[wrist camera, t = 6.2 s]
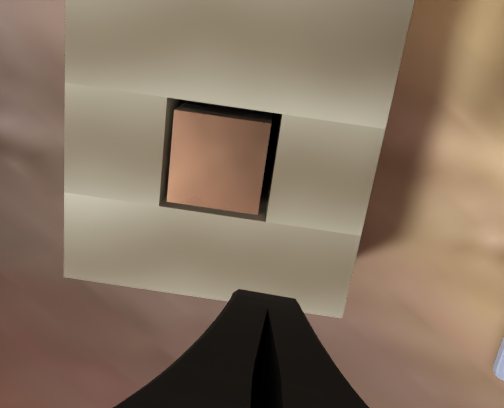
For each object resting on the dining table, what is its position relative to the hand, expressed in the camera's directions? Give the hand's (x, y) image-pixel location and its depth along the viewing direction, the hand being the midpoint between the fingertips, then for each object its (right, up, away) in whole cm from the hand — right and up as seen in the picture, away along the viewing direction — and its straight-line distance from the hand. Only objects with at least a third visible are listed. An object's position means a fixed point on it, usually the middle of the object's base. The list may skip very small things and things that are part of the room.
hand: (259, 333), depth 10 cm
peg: (-1, +5, +9) cm, 10 cm away
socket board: (0, +9, +8) cm, 12 cm away
